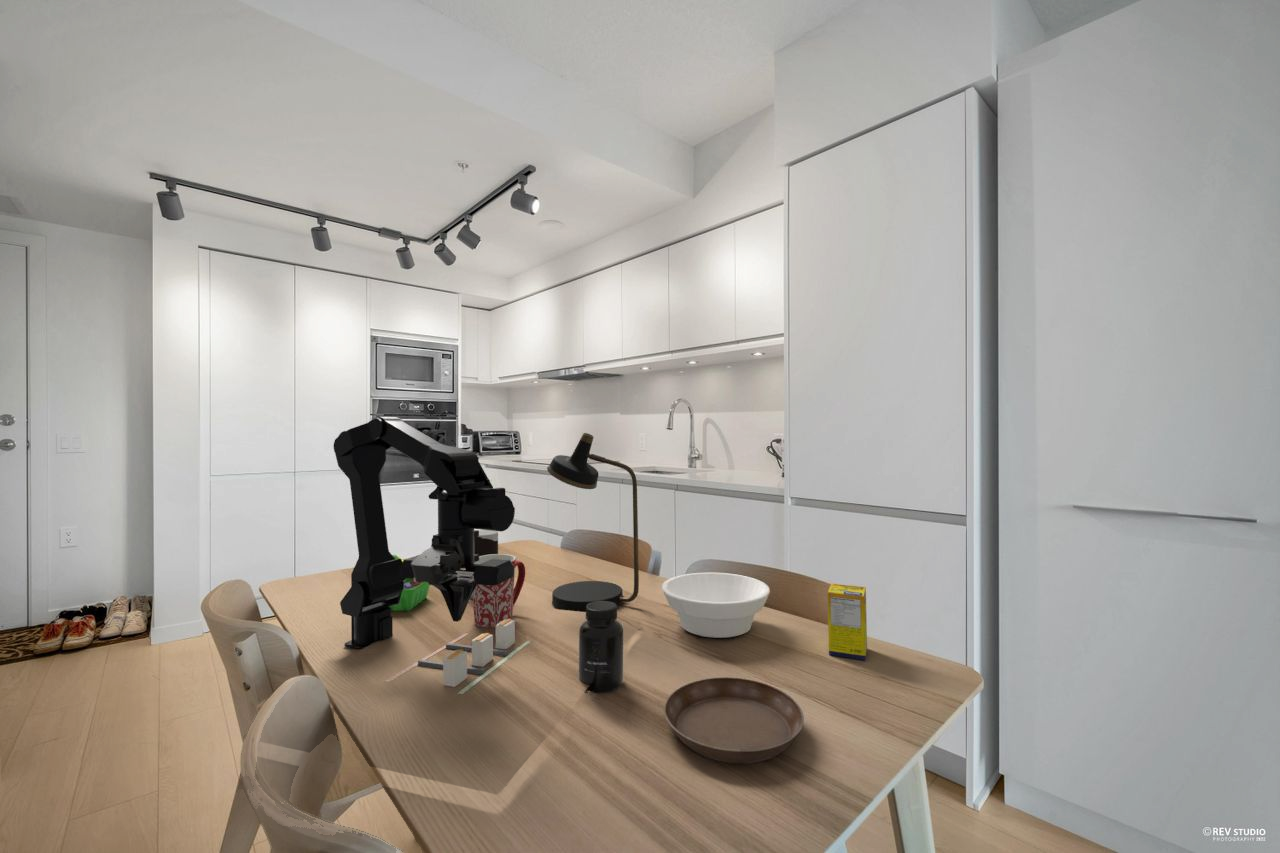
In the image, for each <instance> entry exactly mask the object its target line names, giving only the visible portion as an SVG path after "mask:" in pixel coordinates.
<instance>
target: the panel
mask: <svg viewBox="0 0 1280 853" xmlns="http://www.w3.org/2000/svg"><path fill="white" fill-rule="evenodd" d="M468 635H469V633H467V632H465V633H463V634H462V635H460V636H458V637H457V638H455V639H453V640H451V641H450V642H447V643H446V644H445V645H443V646H441V647H440V648H438V649H436V650H435V651H433V652H431V653H430V654H428V655H426V656H424V657H422V658H421V659H419V660H417V661H416V662H414V663H413V664H411V665H409V666H407V667H406V668H405V669H402V670H401V671H400V672H397V673H395V675H393V676H391V677H389V678H388V679H386V680H384V682H385V683H390V682H392V681H393V680H395V679H396V678H398V677H401V676H402V675H403V674H405V673H407V672H408V671H410V670H412V669H413V668H415V667H416V666H422V667H429V668H433V669H434V668H435V669H442V670H443V662H438V661H434V660H428V659H430V658H431V657H433V656H435V655H436V654H439V653H440V652H442V651H443V650H445V649H447V650H449V649H451V650H459V649H460V650H463V651H466V652H470V653H472V645H466V644H465V645H464V644H456V643H457V642H458V641H459V640H462V639H463V638H465V637H466V636H468ZM531 642H532V641H531V640H526V641H525V642H523V643H522V644H521V645H520V646H518V647H517V648H516V649H514V650H512V651H511V652H510V653H509V650H505V649H498V648H495V649H494V648H493V656H494V655H495V656H502V657H504V658H502V659H501V660H499V662H497V663H496V664H494V665H492V667H490V668H489V669H488V670H486V671H485V668H483V667H477V666H475V667H474V666H469V665H467V674H468V673H469V674H476V675H480V676H478V677H477V678H476V679H475V680H473V681H472V682H470V683H469V684H468V685H466V686H465V687H464V688H463V689H461V690H460V691H459V692H457V694H458V695H459V694H460V695H463V694H465V693H466V692H467V691H469V690H470V689H471V688H473V687H474V686H476V685H477V684H478V683H479V682H481V680H483V679H485V678H486V677H487V676H489V675H490V674H491V673H492V672H493V671H495V670H496V669H497V668H498V667H500V666H501V665H502V664H504V663H505V662H506V661H508V660H509V659H510V658H511V657H512V658H513V656H515V654H517V653H518V652H519V651H521V650H522V649H524V648H525V647H526V646H528V644H530V643H531Z"/></svg>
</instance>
